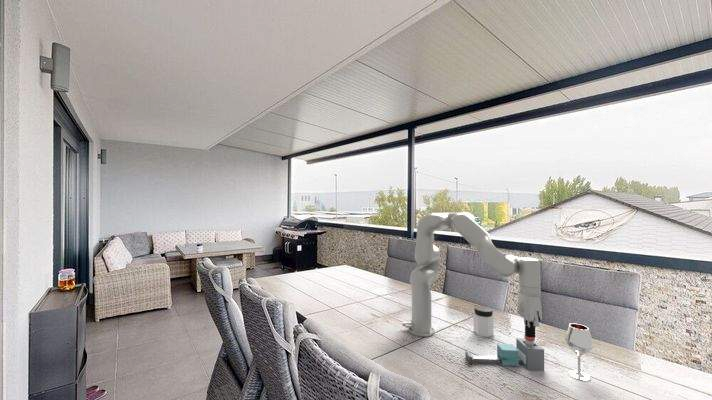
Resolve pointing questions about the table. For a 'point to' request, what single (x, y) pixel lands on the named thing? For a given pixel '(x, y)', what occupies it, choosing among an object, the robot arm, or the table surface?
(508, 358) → the carriage
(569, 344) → the wineglass
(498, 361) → the rail
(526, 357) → the housing
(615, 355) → the table surface
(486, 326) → the jar
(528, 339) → the plunger
